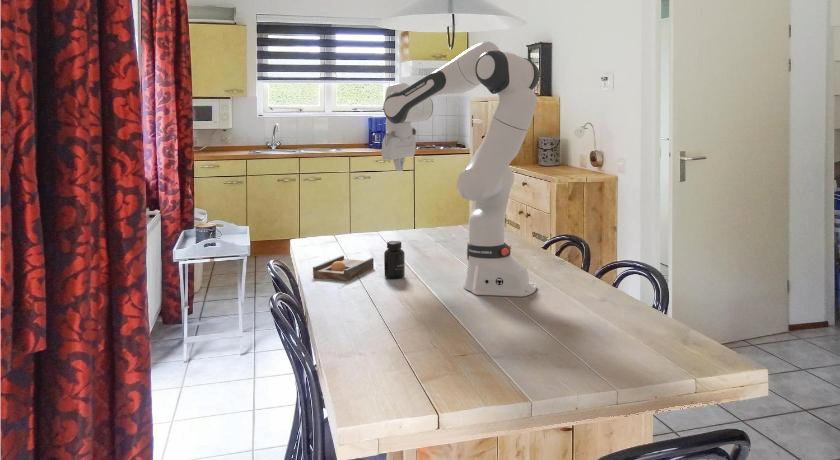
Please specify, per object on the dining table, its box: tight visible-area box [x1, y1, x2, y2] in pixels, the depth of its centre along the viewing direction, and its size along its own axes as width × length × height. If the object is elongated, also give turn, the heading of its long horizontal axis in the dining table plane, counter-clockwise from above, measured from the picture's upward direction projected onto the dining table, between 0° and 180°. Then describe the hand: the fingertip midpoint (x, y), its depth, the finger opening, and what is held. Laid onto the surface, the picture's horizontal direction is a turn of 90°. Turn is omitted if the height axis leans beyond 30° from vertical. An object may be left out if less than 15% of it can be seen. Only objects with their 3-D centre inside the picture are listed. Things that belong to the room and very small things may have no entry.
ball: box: [331, 261, 346, 272], centre depth 229 cm, size 5×5×5 cm
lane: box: [312, 255, 375, 282], centre depth 232 cm, size 13×19×4 cm
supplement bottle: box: [383, 240, 406, 280], centre depth 225 cm, size 7×7×12 cm
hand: (399, 170), depth 236 cm, fingers closed
